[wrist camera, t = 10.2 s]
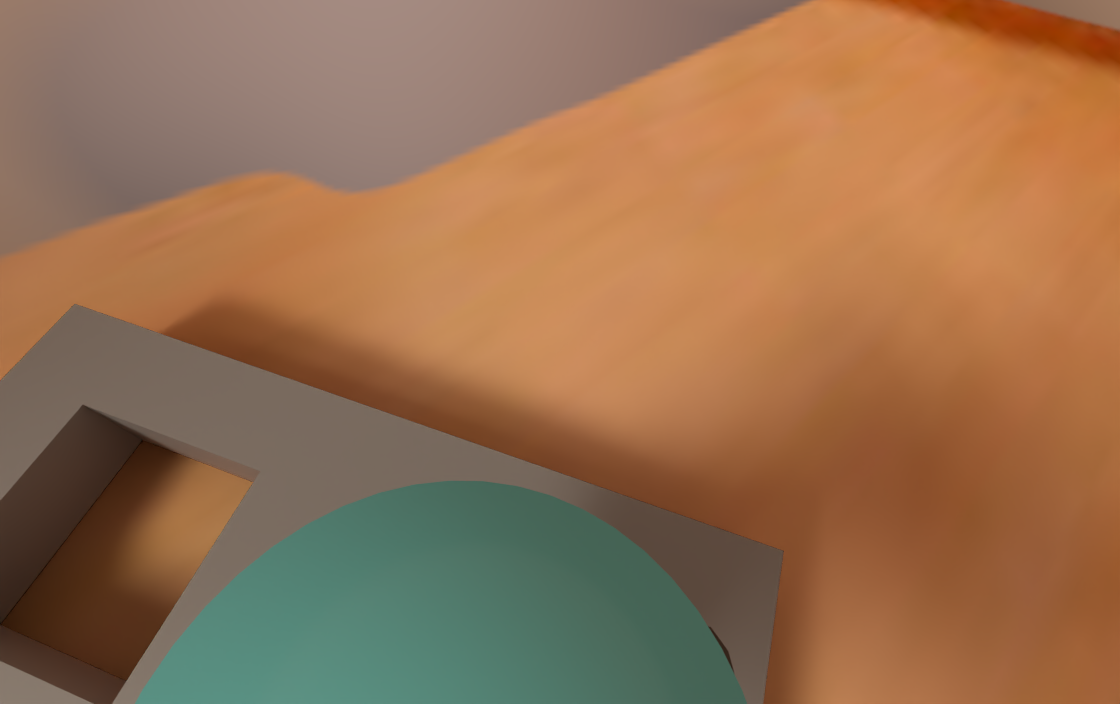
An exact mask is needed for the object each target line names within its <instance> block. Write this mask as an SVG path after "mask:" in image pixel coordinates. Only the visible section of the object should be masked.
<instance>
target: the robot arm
mask: <svg viewBox="0 0 1120 704" xmlns="http://www.w3.org/2000/svg"><path fill="white" fill-rule="evenodd" d="M708 627H709V626H708ZM709 629H710V630H711V632H712V634H713V635H714V637H715V638H716V640H717V642H718V643H719V645H720V646H721V648H722V650H723V652H724V654H725V656H726V658H727V660H728V662H729V664H730V666H731V668H732V670H733V666H732V663H731V659H730V655H729V652H728V650H727V648H726V647H725V646H724V644H723V643H722V642H721V640H720V639H719V637H718V636H717V635H716V633H715V632H714V631H713V629H712V628H711V627H709ZM733 672H734V670H733Z"/></svg>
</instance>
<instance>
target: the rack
mask: <svg viewBox="0 0 1120 704" xmlns="http://www.w3.org/2000/svg"><path fill="white" fill-rule="evenodd" d="M142 440H144V441H147V442H149V443H152V444H154V445H157V446H160V447H162V448H165V449H168V450H170V451H173V452H176V453H178V454H181V455H183V456H186V457H189V458H191V459H194V460H197V461H199V462H202V463H205V464H207V465H210V466H212V467H215V468H218V469H220V470H223V471H226V472H228V473H231V474H234V475H236V476H239V477H241V478H244V479H247V480H249V481H252V482H253V484H252V485H251V487H250V488H249V490H248V491H247V493H246V495H245V496H244V498H243V499H242V501H241V502H240V504H239V506H238V507H237V509H236V510H235V512H234V513H233V515H232V517H231V518H230V520H229V521H228V523H227V524H226V526H225V527H224V529H223V531H222V532H221V534H220V535H219V537H218V538H217V540H216V542H215V543H214V545H213V546H212V548H211V549H210V551H209V553H208V554H207V556H206V557H205V559H204V560H203V562H202V564H201V565H200V567H199V568H198V570H197V571H196V573H195V575H194V576H193V578H192V579H191V581H190V582H189V584H188V585H187V587H186V589H185V590H184V592H183V593H182V595H181V596H180V598H179V600H178V601H177V603H176V604H175V606H174V607H173V609H172V611H171V612H170V614H169V615H168V617H167V618H166V620H165V622H164V623H163V625H162V626H161V628H160V629H159V631H158V632H157V634H156V636H155V637H154V639H153V640H152V642H151V643H150V645H149V647H148V648H147V650H146V651H145V653H144V654H143V656H142V658H141V659H140V661H139V662H138V664H137V665H136V667H135V669H134V670H133V672H132V673H131V675H130V676H129V678H128V680H127V681H125V680H123V679H120V678H118V677H116V676H114V675H111V674H109V673H107V672H105V671H102V670H100V669H98V668H96V667H93V666H91V665H89V664H87V663H85V662H82V661H80V660H78V659H76V658H73V657H71V656H69V655H67V654H64V653H62V652H60V651H58V650H56V649H53V648H51V647H49V646H47V645H44V644H42V643H40V642H38V641H35V640H33V639H31V638H29V637H26V636H24V635H22V634H20V633H18V632H15V631H13V630H11V629H9V628H6V627H4V626H2V625H0V704H135V702H136V701H137V699H138V697H139V695H140V693H141V692H142V690H143V688H144V687H145V685H146V684H147V682H148V681H149V679H150V678H151V677H152V675H153V674H154V672H155V671H156V669H157V668H158V666H159V665H160V663H161V662H162V661H163V659H164V658H165V656H166V655H167V653H168V652H169V650H170V649H171V647H172V646H173V645H174V643H175V642H176V641H177V640H178V639H179V637H180V636H181V635H182V634H183V633H184V631H185V630H186V629H187V628H188V627H189V625H190V624H191V623H192V622H193V621H194V620H195V618H196V617H197V616H198V615H199V614H200V612H201V611H202V610H203V609H204V608H205V606H206V605H208V604H209V603H210V602H211V601H212V600H213V599H214V598H215V597H216V596H217V595H218V594H219V593H220V592H221V591H222V590H223V589H224V588H225V587H226V586H227V585H228V584H229V583H230V582H231V581H232V580H233V579H234V578H235V577H236V576H237V575H238V574H239V573H240V572H242V571H243V570H244V569H245V568H247V567H248V566H249V565H250V564H252V563H253V562H254V561H255V560H256V559H258V558H259V557H260V556H261V555H263V554H264V553H265V552H266V551H268V550H269V549H270V548H271V547H273V546H274V545H276V544H277V543H279V542H280V541H282V540H283V539H285V538H287V537H288V536H290V535H291V534H293V533H294V532H296V531H297V530H299V529H300V528H302V527H304V526H305V525H307V524H308V523H310V522H312V521H314V520H316V519H318V518H320V517H322V516H324V515H326V514H328V513H330V512H332V511H334V510H336V509H338V508H340V507H342V506H345V505H347V504H350V503H353V502H355V501H358V500H361V499H364V498H366V497H369V496H372V495H374V494H377V493H381V492H385V491H389V490H393V489H398V488H402V487H406V486H410V485H415V484H424V483H433V482H441V481H486V482H493V483H500V484H507V485H514V486H519V487H523V488H526V489H530V490H533V491H537V492H540V493H544V494H548V495H551V496H553V497H556V498H558V499H560V500H563V501H565V502H567V503H570V504H572V505H574V506H577V507H579V508H581V509H584V510H585V511H587V512H589V513H590V514H592V515H594V516H596V517H597V518H599V519H601V520H602V521H604V522H606V523H607V524H609V525H611V526H613V527H614V528H616V529H617V530H618V531H619V532H621V533H622V534H623V535H625V536H626V537H627V538H628V539H630V540H631V541H632V542H634V543H635V544H636V545H638V546H639V547H640V548H641V549H643V550H644V551H645V552H646V553H647V554H648V555H649V556H650V557H651V558H652V559H653V560H654V561H655V562H656V563H657V564H658V565H659V566H660V567H661V568H662V569H663V570H664V571H665V572H666V573H667V574H668V575H669V576H670V577H671V578H672V579H673V580H674V581H675V582H676V584H677V585H678V586H679V587H680V589H681V590H682V591H683V592H684V594H685V595H686V596H687V597H688V599H689V600H690V601H691V602H692V604H693V605H694V606H695V607H696V609H697V610H698V611H699V613H700V615H701V616H702V618H703V619H704V621H705V622H706V624H707V626H709V627H711V628H712V629H713V631H714V632H715V633H716V635H717V636H718V637H719V639H720V640H721V642H722V643H723V644H724V646H725V647H726V648H727V650H728V652H729V655H730V659H731V663H732V666H733V670H734V674H735V677H736V679H737V681H738V683H739V685H740V687H741V689H742V691H743V694H744V696H745V699H746V702H747V704H763V701H764V694H765V686H766V679H767V671H768V664H769V656H770V649H771V641H772V634H773V627H774V619H775V612H776V604H777V597H778V589H779V582H780V574H781V567H782V560H783V552H784V551H783V550H780V549H777V548H774V547H771V546H768V545H765V544H762V543H760V542H757V541H754V540H751V539H748V538H745V537H742V536H740V535H737V534H734V533H731V532H728V531H725V530H722V529H719V528H717V527H714V526H711V525H708V524H705V523H702V522H699V521H696V520H694V519H691V518H688V517H685V516H682V515H679V514H676V513H674V512H671V511H668V510H665V509H662V508H659V507H656V506H653V505H651V504H648V503H645V502H642V501H639V500H636V499H633V498H630V497H628V496H625V495H622V494H619V493H616V492H613V491H610V490H608V489H605V488H602V487H599V486H596V485H593V484H590V483H587V482H585V481H582V480H579V479H576V478H573V477H570V476H567V475H565V474H562V473H559V472H556V471H553V470H550V469H547V468H544V467H542V466H539V465H536V464H533V463H530V462H527V461H524V460H521V459H519V458H516V457H513V456H510V455H507V454H504V453H501V452H499V451H496V450H493V449H490V448H487V447H484V446H481V445H478V444H476V443H473V442H470V441H467V440H464V439H461V438H458V437H455V436H453V435H450V434H447V433H444V432H441V431H438V430H435V429H433V428H430V427H427V426H424V425H421V424H418V423H415V422H412V421H410V420H407V419H404V418H401V417H398V416H395V415H392V414H389V413H387V412H384V411H381V410H378V409H375V408H372V407H369V406H367V405H364V404H361V403H358V402H355V401H352V400H349V399H346V398H344V397H341V396H338V395H335V394H332V393H329V392H326V391H324V390H321V389H318V388H315V387H312V386H309V385H306V384H303V383H301V382H298V381H295V380H292V379H289V378H286V377H283V376H280V375H278V374H275V373H272V372H269V371H266V370H263V369H260V368H258V367H255V366H252V365H249V364H246V363H243V362H240V361H237V360H235V359H232V358H229V357H226V356H223V355H220V354H217V353H214V352H212V351H209V350H206V349H203V348H200V347H197V346H194V345H192V344H189V343H186V342H183V341H180V340H177V339H174V338H171V337H169V336H166V335H163V334H160V333H157V332H154V331H151V330H149V329H146V328H143V327H140V326H137V325H134V324H131V323H128V322H126V321H123V320H120V319H117V318H114V317H111V316H108V315H105V314H103V313H100V312H97V311H94V310H91V309H88V308H85V307H83V306H80V305H77V304H74V305H73V306H72V307H71V308H70V309H69V310H68V311H67V312H66V313H65V314H64V315H63V316H62V317H61V318H60V319H59V320H58V322H57V323H56V324H55V325H54V326H53V327H52V328H51V329H50V330H49V331H48V332H47V333H46V334H45V335H44V336H43V337H42V338H41V339H40V340H39V341H38V342H37V343H36V344H35V345H34V346H33V347H32V348H31V349H30V351H29V352H28V353H27V354H26V355H25V356H24V357H23V358H22V359H21V360H20V361H19V362H18V363H17V364H16V365H15V366H14V367H13V368H12V369H11V370H10V371H9V372H8V373H7V374H6V375H5V376H4V377H3V378H2V379H1V381H0V624H1V623H2V621H3V620H4V619H5V618H6V616H7V615H8V614H9V612H10V611H11V610H12V608H13V607H14V606H15V605H16V603H17V602H18V601H19V599H20V598H21V597H22V596H23V594H24V593H25V592H26V590H27V589H28V588H29V586H30V585H31V584H32V583H33V581H34V580H35V579H36V577H37V576H38V575H39V573H40V572H41V571H42V570H43V568H44V567H45V566H46V564H47V563H48V562H49V561H50V559H51V558H52V557H53V555H54V554H55V553H56V551H57V550H58V549H59V548H60V546H61V545H62V544H63V542H64V541H65V540H66V539H67V537H68V536H69V535H70V533H71V532H72V531H73V529H74V528H75V527H76V526H77V524H78V523H79V522H80V520H81V519H82V518H83V516H84V515H85V514H86V513H87V511H88V510H89V509H90V507H91V506H92V505H93V504H94V502H95V501H96V500H97V498H98V497H99V496H100V494H101V493H102V492H103V491H104V489H105V488H106V487H107V485H108V484H109V483H110V482H111V480H112V479H113V478H114V476H115V475H116V474H117V472H118V471H119V470H120V469H121V467H122V466H123V465H124V463H125V462H126V461H127V459H128V458H129V457H130V456H131V454H132V453H133V452H134V450H135V449H136V448H137V447H138V445H139V444H140V443H141V441H142Z"/></svg>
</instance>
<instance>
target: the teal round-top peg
mask: <svg viewBox="0 0 1120 704" xmlns="http://www.w3.org/2000/svg"><path fill="white" fill-rule="evenodd" d="M135 704H747V702H746V699H745V696H744V694H743V691H742V689H741V687H740V685H739V683H738V681H737V679H736V677H735V674H734V672H733V670H732V668H731V666H730V664H729V662H728V660H727V658H726V656H725V654H724V652H723V650H722V648H721V646H720V645H719V643H718V642H717V640H716V638H715V637H714V635H713V634H712V632H711V630H710V629H709V627H708V626H707V624H706V622H705V621H704V619H703V618H702V616H701V615H700V613H699V611H698V610H697V609H696V607H695V606H694V605H693V604H692V602H691V601H690V600H689V599H688V597H687V596H686V595H685V594H684V592H683V591H682V590H681V589H680V587H679V586H678V585H677V584H676V582H675V581H674V580H673V579H672V578H671V577H670V576H669V575H668V574H667V573H666V572H665V571H664V570H663V569H662V568H661V567H660V566H659V565H658V564H657V563H656V562H655V561H654V560H653V559H652V558H651V557H650V556H649V555H648V554H647V553H646V552H645V551H644V550H643V549H641V548H640V547H639V546H638V545H636V544H635V543H634V542H632V541H631V540H630V539H628V538H627V537H626V536H625V535H623V534H622V533H621V532H619V531H618V530H617V529H616V528H614V527H613V526H611V525H609V524H607V523H606V522H604V521H602V520H601V519H599V518H597V517H596V516H594V515H592V514H590V513H589V512H587V511H585V510H584V509H581V508H579V507H577V506H574V505H572V504H570V503H567V502H565V501H563V500H560V499H558V498H556V497H553V496H551V495H548V494H544V493H540V492H537V491H533V490H530V489H526V488H523V487H519V486H514V485H507V484H500V483H493V482H486V481H441V482H433V483H424V484H415V485H410V486H406V487H402V488H398V489H393V490H389V491H385V492H381V493H377V494H374V495H372V496H369V497H366V498H364V499H361V500H358V501H355V502H353V503H350V504H347V505H345V506H342V507H340V508H338V509H336V510H334V511H332V512H330V513H328V514H326V515H324V516H322V517H320V518H318V519H316V520H314V521H312V522H310V523H308V524H307V525H305V526H304V527H302V528H300V529H299V530H297V531H296V532H294V533H293V534H291V535H290V536H288V537H287V538H285V539H283V540H282V541H280V542H279V543H277V544H276V545H274V546H273V547H271V548H270V549H269V550H268V551H266V552H265V553H264V554H263V555H261V556H260V557H259V558H258V559H256V560H255V561H254V562H253V563H252V564H250V565H249V566H248V567H247V568H245V569H244V570H243V571H242V572H240V573H239V574H238V575H237V576H236V577H235V578H234V579H233V580H232V581H231V582H230V583H229V584H228V585H227V586H226V587H225V588H224V589H223V590H222V591H221V592H220V593H219V594H218V595H217V596H216V597H215V598H214V599H213V600H212V601H211V602H210V603H209V604H208V605H206V606H205V608H204V609H203V610H202V611H201V612H200V614H199V615H198V616H197V617H196V618H195V620H194V621H193V622H192V623H191V624H190V625H189V627H188V628H187V629H186V630H185V631H184V633H183V634H182V635H181V636H180V637H179V639H178V640H177V641H176V642H175V643H174V645H173V646H172V647H171V649H170V650H169V652H168V653H167V655H166V656H165V658H164V659H163V661H162V662H161V663H160V665H159V666H158V668H157V669H156V671H155V672H154V674H153V675H152V677H151V678H150V679H149V681H148V682H147V684H146V685H145V687H144V688H143V690H142V692H141V693H140V695H139V697H138V699H137V701H136V702H135Z"/></svg>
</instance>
